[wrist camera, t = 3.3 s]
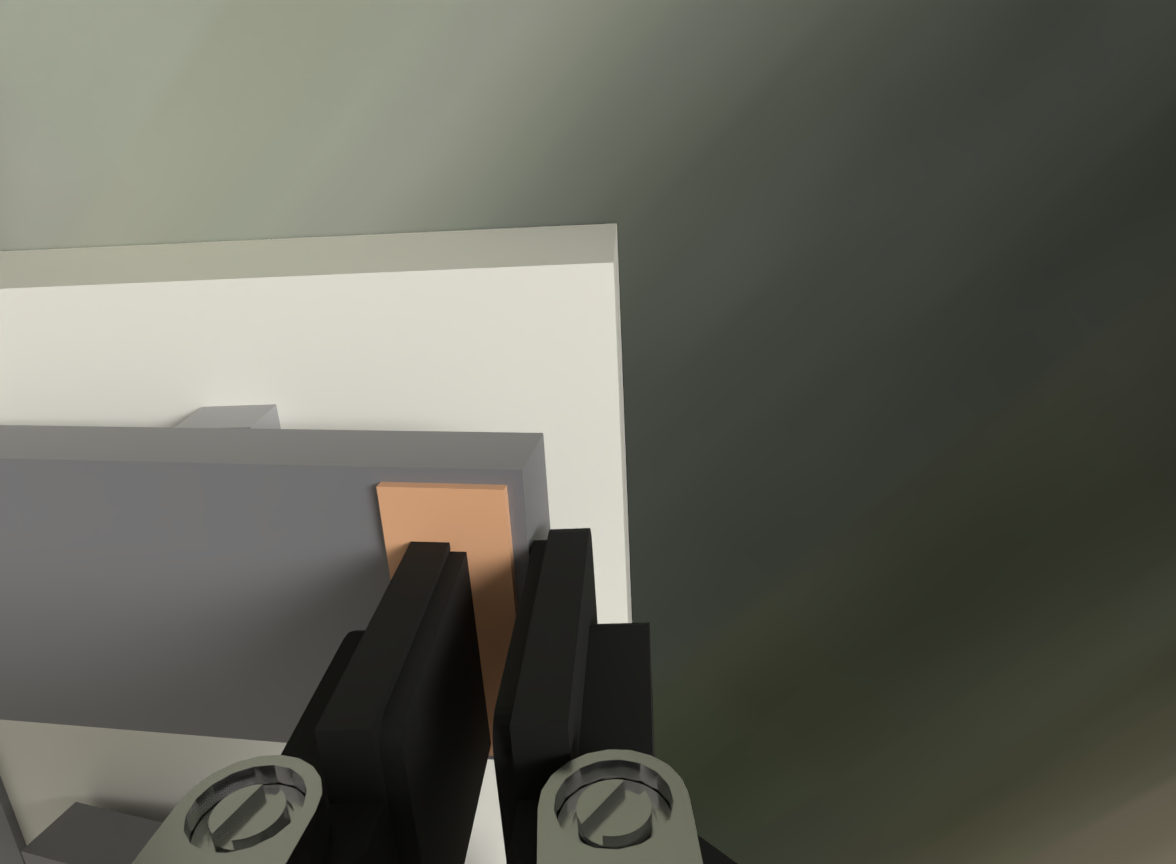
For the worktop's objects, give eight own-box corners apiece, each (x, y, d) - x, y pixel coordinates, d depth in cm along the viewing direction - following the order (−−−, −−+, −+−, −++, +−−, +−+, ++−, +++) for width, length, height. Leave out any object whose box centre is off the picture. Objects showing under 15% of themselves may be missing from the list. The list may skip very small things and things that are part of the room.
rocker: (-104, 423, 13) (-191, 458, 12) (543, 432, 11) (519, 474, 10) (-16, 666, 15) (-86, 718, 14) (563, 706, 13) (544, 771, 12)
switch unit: (-282, 264, 17) (-612, 327, 13) (616, 223, 16) (612, 276, 12) (48, 1063, 26) (-77, 1274, 22) (648, 1069, 25) (653, 1292, 20)
